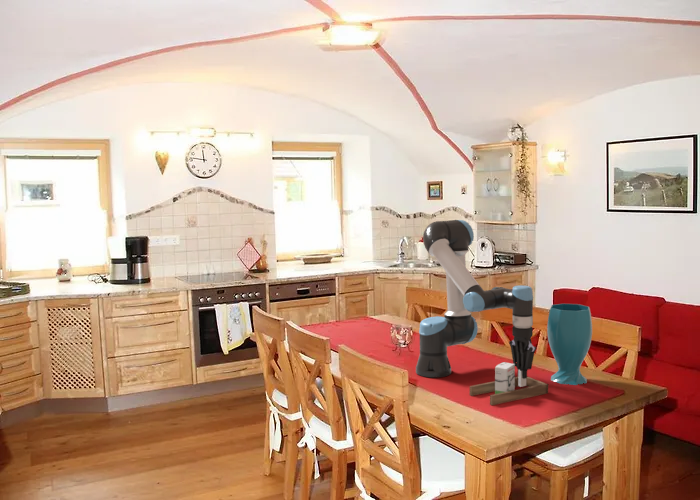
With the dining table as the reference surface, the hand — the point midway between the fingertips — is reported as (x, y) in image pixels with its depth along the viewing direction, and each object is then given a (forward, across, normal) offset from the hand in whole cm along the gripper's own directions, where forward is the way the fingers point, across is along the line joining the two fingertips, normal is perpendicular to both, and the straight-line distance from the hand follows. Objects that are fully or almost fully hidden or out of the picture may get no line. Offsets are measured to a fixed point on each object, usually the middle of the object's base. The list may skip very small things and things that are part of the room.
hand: (522, 385), depth 257 cm
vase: (+3, -2, +26) cm, 27 cm away
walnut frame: (+2, 0, -6) cm, 7 cm away
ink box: (+3, 0, -8) cm, 9 cm away
